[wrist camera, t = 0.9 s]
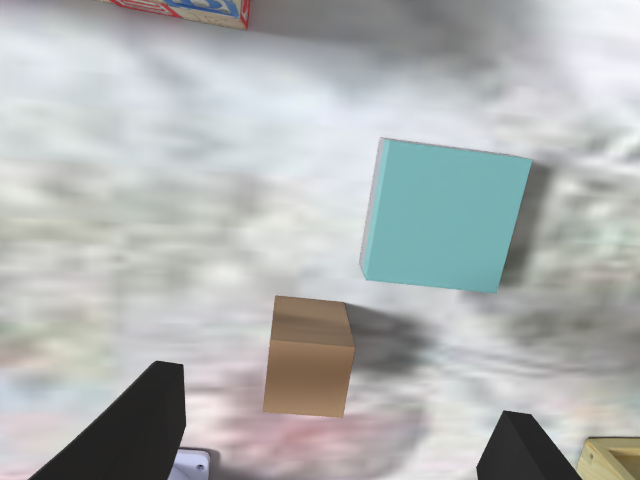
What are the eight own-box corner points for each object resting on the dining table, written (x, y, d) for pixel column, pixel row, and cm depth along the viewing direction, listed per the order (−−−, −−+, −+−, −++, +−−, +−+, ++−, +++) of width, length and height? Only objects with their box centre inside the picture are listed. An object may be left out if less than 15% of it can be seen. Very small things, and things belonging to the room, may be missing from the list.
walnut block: (334, 361, 26) (343, 417, 22) (268, 355, 26) (262, 412, 21) (343, 301, 25) (355, 347, 20) (275, 295, 25) (270, 339, 20)
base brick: (477, 275, 25) (496, 293, 23) (359, 263, 24) (365, 280, 22) (508, 154, 23) (532, 159, 21) (379, 137, 23) (389, 141, 20)
